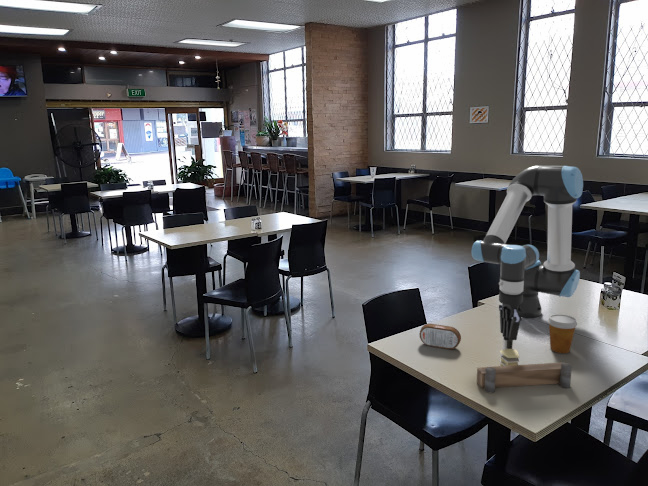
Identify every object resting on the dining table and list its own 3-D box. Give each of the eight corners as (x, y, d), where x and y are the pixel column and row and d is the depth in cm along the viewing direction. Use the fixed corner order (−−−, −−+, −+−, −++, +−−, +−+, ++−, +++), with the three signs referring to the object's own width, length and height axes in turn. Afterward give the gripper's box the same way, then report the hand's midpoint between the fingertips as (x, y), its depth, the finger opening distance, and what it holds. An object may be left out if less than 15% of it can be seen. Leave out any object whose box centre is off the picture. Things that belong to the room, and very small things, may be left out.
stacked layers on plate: (528, 374, 162) (530, 359, 161) (502, 376, 162) (502, 360, 160) (516, 361, 172) (517, 346, 170) (490, 362, 171) (491, 347, 170)
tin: (460, 348, 182) (461, 327, 180) (459, 351, 179) (460, 330, 177) (420, 342, 188) (420, 321, 186) (418, 345, 185) (418, 324, 184)
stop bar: (476, 381, 158) (477, 361, 156) (561, 376, 159) (563, 356, 158) (485, 393, 151) (486, 372, 149) (573, 387, 153) (575, 366, 151)
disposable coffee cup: (572, 345, 181) (575, 315, 179) (576, 356, 173) (579, 324, 170) (544, 342, 184) (546, 312, 182) (546, 353, 176) (549, 322, 173)
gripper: (492, 285, 172) (489, 348, 178) (508, 298, 160) (504, 365, 165) (513, 284, 173) (509, 347, 178) (531, 297, 160) (526, 363, 165)
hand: (507, 355), depth 171 cm, fingers closed
